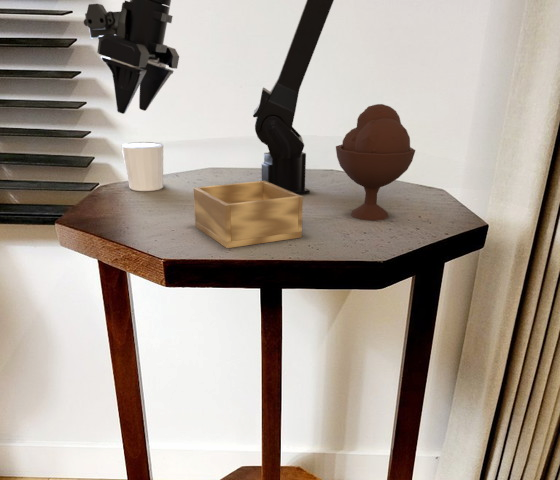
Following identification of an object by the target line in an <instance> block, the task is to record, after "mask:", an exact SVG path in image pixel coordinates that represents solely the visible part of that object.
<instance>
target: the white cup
mask: <svg viewBox="0 0 560 480" xmlns="http://www.w3.org/2000/svg"><path fill="white" fill-rule="evenodd" d="M121 150H122V156H123V161H124V166H125V171H126V176H127V180H128V181H127V182H128V187H129V189H130V190H132V191H136V192H153V191H159V190H162V189H163V188H164V144H163V143H161V142H155V141H135V142H128V143H123V144H122V145H121Z"/></svg>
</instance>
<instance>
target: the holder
mask: <svg viewBox="0 0 560 480" xmlns="http://www.w3.org/2000/svg"><path fill="white" fill-rule="evenodd" d="M192 189H193V204H194V206H193V207H194V221H195V223H194V224H195V228H197V230H200V231H201V232H202V233H204V234H206V235H207V236H208V237H210V238H211V239H213V240H214V241H215V242H217V243H218V244H220V245H222V246H223V247H225V248H226V249H231V248H239V247H245V246H254V245H259V244H266V243H267V244H268V243H273V242H280V241H288V240H294V239H300V238H301V239H302V237H303V209H304V208H303V206H304V203H303V202H304V196H303V195H301V194H295V193H293V192H291V191H288V190H286V189H283V188H281V187H279V186H276V185H274V184H272V183H269V182H267V181H262V180H257V181H247V182H236V183H227V184H217V185H207V186H206V185H205V186H198V187H197V186H196V187H193V188H192Z"/></svg>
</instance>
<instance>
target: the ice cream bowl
mask: <svg viewBox="0 0 560 480" xmlns="http://www.w3.org/2000/svg"><path fill="white" fill-rule="evenodd" d="M335 152H336V159H337V161H338V163H339V166H340V168H341V169H342V170H343V172H344V173H345V174H346V175H347V177H349V179H351V181H353V182H354V183H355V184H357V185H359V186H361V187H363V189H364V192H365V193H364V203H362V204H361V205H359V206H357V207H355V208H354V209H352V210H351V213H350V215H351V217H352V218H355V219H358V220H362V221H383V220H386V219H387V218H389V213H388V211H386V209H384V208H383V207H381V206H380V205H379V204H378V203H377V202H378V193H379V190H380V189H381V188H383V187H385V186H387V185H389V184H391V183H393V182H395V181H396V180H398V179H399V178H400V177H402V175H404V173H405V172H407V171H408V170H409V168H410V166H411V164H412V163H413V160H414V156H415V153H416V149H414V148H413V147H411V138H410V135H409V133H408V130H407V129H406V128H405V127H404V125H403V124H402V121H401V118H400V115H399V114H398V111H396V110H395V109H394V108H393V107H391V106H389V105H386V104H383V103H377V104H372V105H368V106H367V107H366V108H365V109H364V110H363V111H362V112H361V113H360V114H359V115H358V117H357V119H356V127H354V128H351V130H349V131H348V132H347V133H346V134H345V135H344V138H343V140H342V144H339V145H336V146H335Z"/></svg>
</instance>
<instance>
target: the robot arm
mask: <svg viewBox="0 0 560 480" xmlns="http://www.w3.org/2000/svg"><path fill="white" fill-rule="evenodd" d="M334 1H335V0H306V1H305V4H304V6H303V8H302V12H301V15H300V18H299V20H298V23H297V26H296V28H295V32H294V34H293V36H292V39H291V42H290V45H289V48H288V50H287V53H286V56H285V58H284V61H283V64H282V67H281V69H280V72H279V75H278V77H277V79H276V81H275V83H274V85H273V86H272V87H271V89H270V90H268V89H267V88H266V87H264V86H263V87H262V88H261V93H260V100H259V102H258V105H257V106H256V108H255V109H254V110H253V113H252V117H253V118H255V123H254V131H255V134H256V136H257V139H258V140H259V141H260V142H261V143H263V144H264V145H266V146H267V149H268V152H264V153H263V162H262V163H261V181H267V182H269V183H272V184H274V185H276V186H279V187H281V188H283V189H286V190H288V191H291V192H293V193H295V194H298V195H304V194H310V192H311V190H310V189H309V188H306V169H307V153H306V152H303V151H304V148H305V143H304V140H303V137H302V135H301V134H300V133H299V132H298V131H297V130H296V129H295V128H294V127H293V124H294V119H295V115H296V108H297V104H298V100H299V99H298V98H299V94H300V88H301V86H302V83H303V80H304V79H305V76H306V73H307V71H308V68H309V66H310V62H311V60H312V58H313V55H314V53H315V50H316V47H317V45H318V43H319V40H320V37H321V34H322V32H323V29H324V28H325V24H326V21H327V19H328V16H329V15H330V11H331V8H332V7H333V3H334ZM171 3H172V0H129V1H128V0H124V2H122V3H121V4H122V5H121V9H120V11H111V10H110V11H107V10H106V8H105V6H104V4H102V3H101V4H100V3H89V4H88V6H87V9H86V13H84V16H85V18H84V20H83V25H84V26H85V27H87V28H88V31H89V36H90V39H97V40H98V44H97V50H96V51H97V52H96V53H97V54H98V55H101V56H100V58H101V61H102V62H103V63H105V65H106V66H107V67H108V69H109V70H110V72H111V74H112V81H113V87H114V93H115V94H114V95H115V104H116V111H117V113H119V114H122V115H124V114H126V112H127V110H128V109H129V107H130V105H131V103H132V101H133V99H134V98H135V95H136V93H137V91H138V89H139V94H138V95H139V97H138V109H139V110H142V111H143V112H144V111H146V112H147V110H148V108H149V107H150V106H151V104H152V103H153V101H154V100H155V98H156V97H157V95H158V93H160V91H161V90H162V88H163V86H164V85H165V84H166V83H167V81H168V79H169V78H170V77H171V75H173V74H174V72H175V71H174V70H173V69H175V70H176V69H178V65H179V60H180V55H179V53H178V51H177V50H176V49H177V48H174V47H172V46H168V45H166V44H164V43H165V42H164V41H165V36H166V31H167V27H168V24H172V22H173V17H174V16H173V15H171V14H170V10H171V9H170V8H171ZM167 66H168V67H167Z"/></svg>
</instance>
